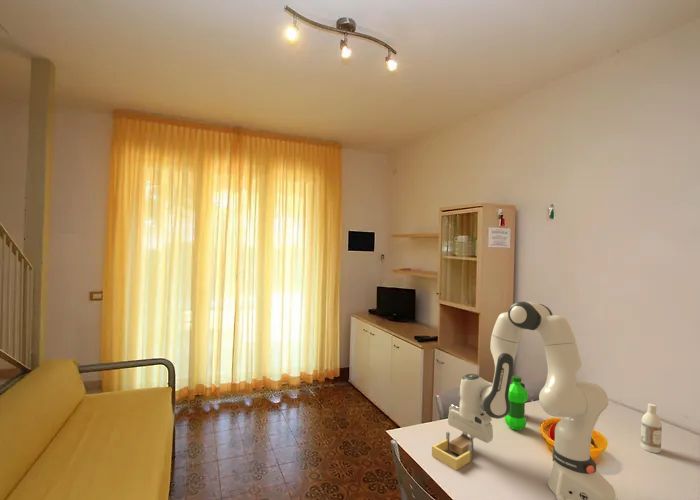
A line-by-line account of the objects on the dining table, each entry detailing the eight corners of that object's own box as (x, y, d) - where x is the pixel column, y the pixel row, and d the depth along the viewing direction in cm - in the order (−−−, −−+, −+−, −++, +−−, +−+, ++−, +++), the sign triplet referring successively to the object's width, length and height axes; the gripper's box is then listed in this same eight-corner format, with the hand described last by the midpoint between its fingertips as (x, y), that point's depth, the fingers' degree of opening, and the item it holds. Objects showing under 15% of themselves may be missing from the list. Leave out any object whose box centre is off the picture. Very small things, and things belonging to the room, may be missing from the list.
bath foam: (650, 453, 155) (651, 408, 154) (636, 444, 161) (637, 401, 161) (665, 453, 155) (666, 408, 155) (651, 444, 162) (652, 401, 162)
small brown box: (472, 451, 152) (473, 439, 152) (461, 459, 147) (461, 446, 146) (460, 445, 157) (461, 433, 157) (448, 452, 151) (449, 439, 151)
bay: (471, 460, 145) (472, 443, 145) (456, 470, 139) (456, 452, 139) (447, 447, 155) (447, 431, 155) (431, 455, 148) (432, 439, 148)
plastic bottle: (530, 433, 169) (532, 381, 169) (508, 432, 169) (510, 380, 169) (521, 422, 179) (522, 373, 179) (500, 422, 179) (501, 373, 179)
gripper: (445, 405, 161) (444, 435, 161) (487, 423, 145) (486, 456, 145) (453, 401, 165) (452, 430, 165) (495, 418, 149) (494, 451, 149)
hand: (468, 443), depth 155 cm, fingers closed, pressing on small brown box
